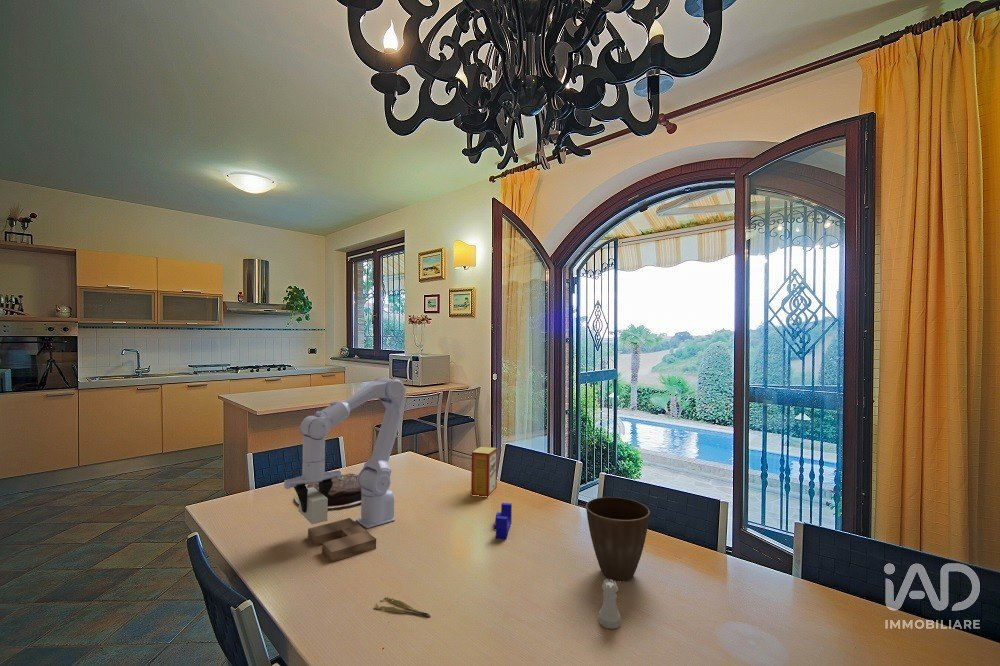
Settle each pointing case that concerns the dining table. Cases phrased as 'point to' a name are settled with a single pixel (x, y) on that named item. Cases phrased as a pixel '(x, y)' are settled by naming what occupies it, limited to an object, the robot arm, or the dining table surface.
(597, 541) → the plant pot
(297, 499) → the chocolate cake
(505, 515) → the cable clip
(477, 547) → the dining table surface
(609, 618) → the rook chess piece
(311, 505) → the grey rubber bar
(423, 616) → the tongs
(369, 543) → the notched shelf
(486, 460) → the baking soda box
